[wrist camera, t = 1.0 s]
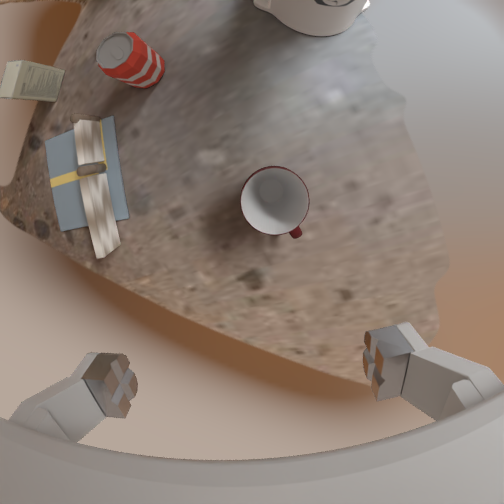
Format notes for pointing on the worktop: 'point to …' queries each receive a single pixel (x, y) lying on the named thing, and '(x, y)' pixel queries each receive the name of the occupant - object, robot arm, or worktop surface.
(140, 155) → the worktop surface
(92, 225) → the fence panel
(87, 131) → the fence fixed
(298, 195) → the mug
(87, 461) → the robot arm
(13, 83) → the skincare box
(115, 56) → the beverage can
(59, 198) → the card
